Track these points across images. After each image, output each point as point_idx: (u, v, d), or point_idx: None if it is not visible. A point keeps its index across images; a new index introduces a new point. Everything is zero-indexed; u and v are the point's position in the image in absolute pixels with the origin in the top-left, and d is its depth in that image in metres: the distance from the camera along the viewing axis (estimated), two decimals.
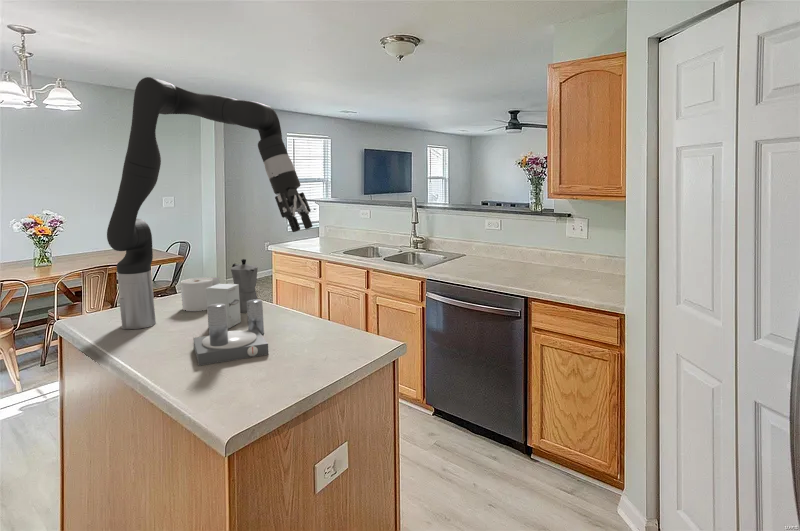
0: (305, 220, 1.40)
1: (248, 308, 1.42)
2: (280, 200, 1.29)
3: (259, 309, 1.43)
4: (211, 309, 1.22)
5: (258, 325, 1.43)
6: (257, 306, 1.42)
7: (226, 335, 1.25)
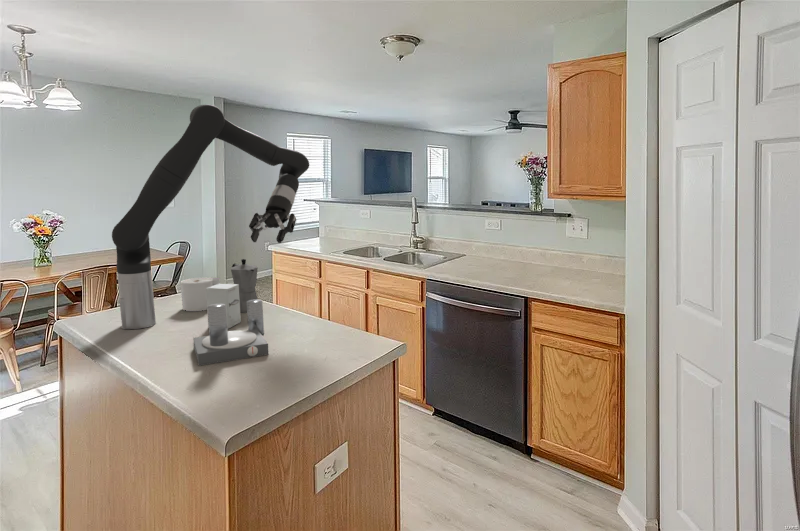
0: (256, 234, 1.54)
1: (248, 308, 1.42)
2: (294, 219, 1.55)
3: (259, 309, 1.43)
4: (211, 309, 1.22)
5: (258, 325, 1.43)
6: (257, 306, 1.42)
7: (226, 335, 1.25)
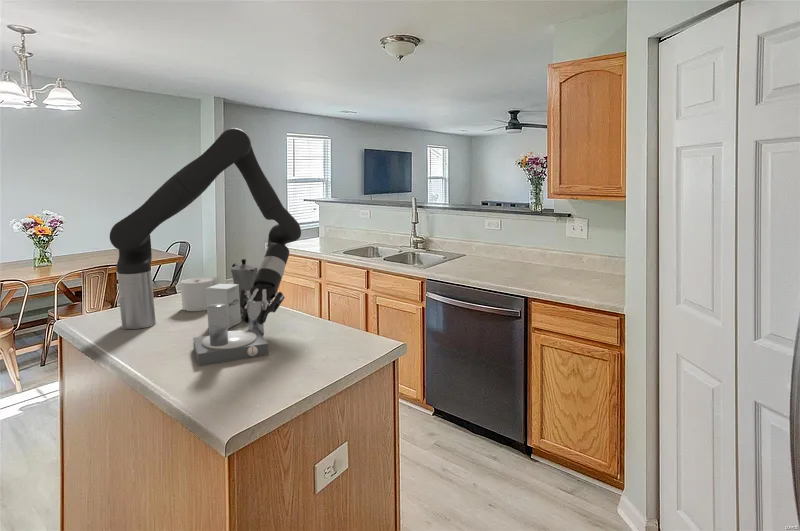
0: None
1: (248, 308, 1.42)
2: (280, 298, 1.46)
3: (259, 309, 1.43)
4: (211, 309, 1.22)
5: (258, 325, 1.43)
6: (257, 306, 1.42)
7: (226, 335, 1.25)
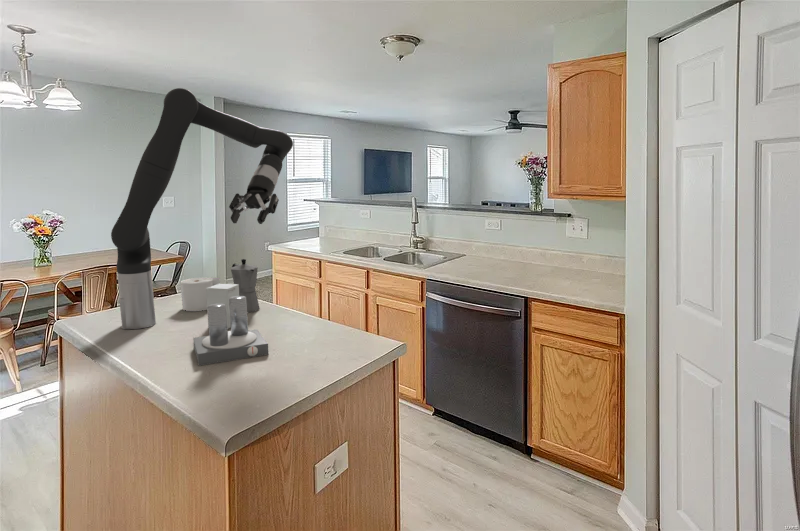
0: (237, 215, 1.48)
1: (230, 305, 1.31)
2: (276, 199, 1.49)
3: (243, 307, 1.32)
4: (211, 309, 1.22)
5: (241, 323, 1.32)
6: (240, 303, 1.31)
7: (226, 335, 1.25)
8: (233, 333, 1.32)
